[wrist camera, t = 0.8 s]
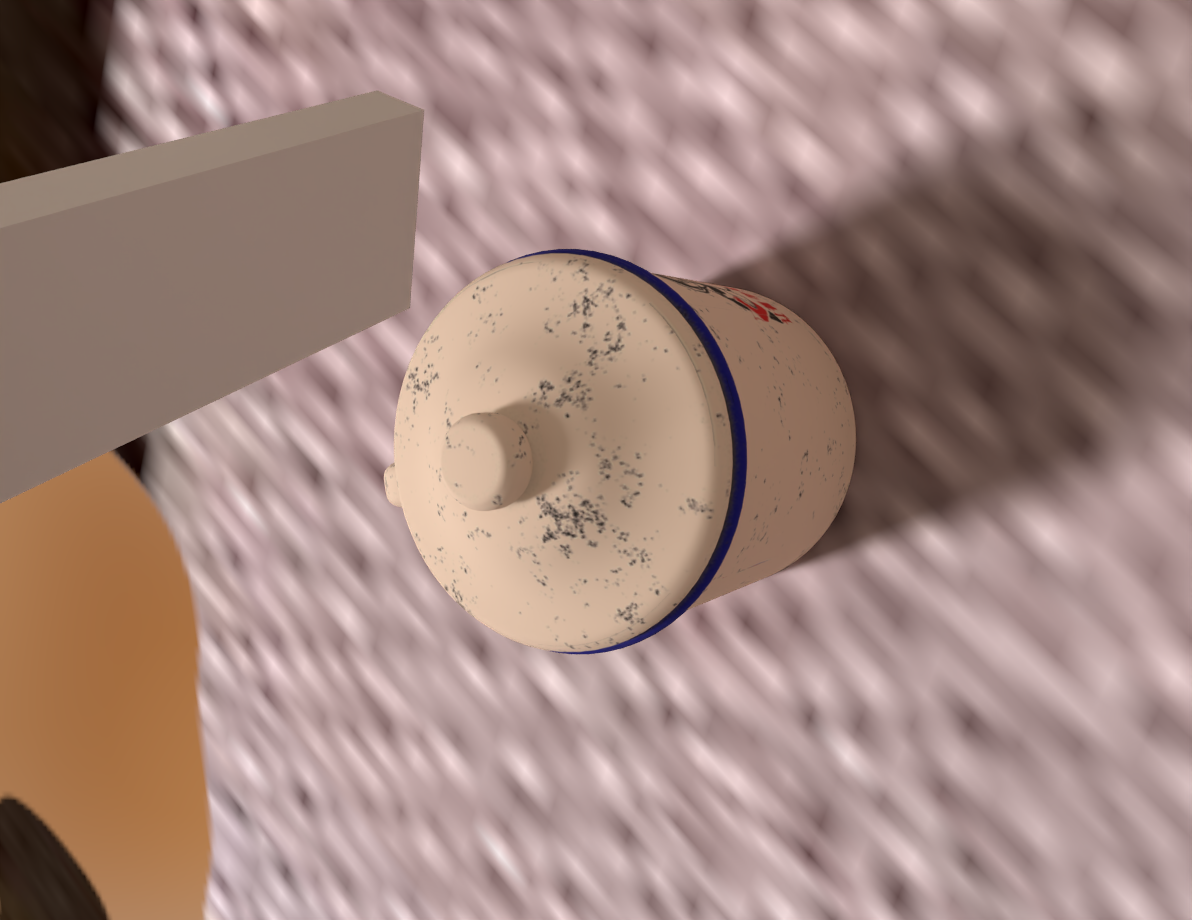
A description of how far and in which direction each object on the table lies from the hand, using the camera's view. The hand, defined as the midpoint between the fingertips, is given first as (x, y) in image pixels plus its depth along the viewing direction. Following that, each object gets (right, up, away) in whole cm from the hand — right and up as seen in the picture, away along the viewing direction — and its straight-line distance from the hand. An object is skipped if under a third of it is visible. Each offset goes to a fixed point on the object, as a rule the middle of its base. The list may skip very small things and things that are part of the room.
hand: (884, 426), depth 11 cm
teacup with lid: (-1, 0, +21) cm, 21 cm away
